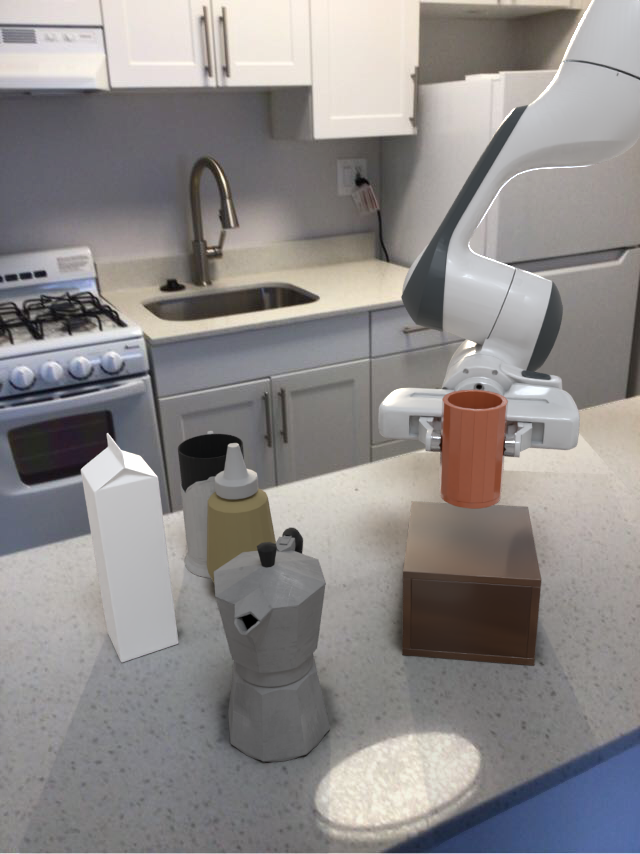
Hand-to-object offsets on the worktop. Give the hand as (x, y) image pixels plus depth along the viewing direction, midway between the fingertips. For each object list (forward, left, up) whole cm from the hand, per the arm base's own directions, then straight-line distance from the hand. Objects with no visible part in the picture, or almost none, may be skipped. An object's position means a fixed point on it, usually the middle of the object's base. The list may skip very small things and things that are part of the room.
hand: (472, 447), depth 72 cm
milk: (+34, +1, -20) cm, 39 cm away
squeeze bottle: (+24, -7, -20) cm, 32 cm away
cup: (0, -1, -5) cm, 6 cm away
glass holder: (+28, -17, -20) cm, 38 cm away
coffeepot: (+19, +13, -20) cm, 30 cm away
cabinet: (0, -1, -20) cm, 20 cm away
